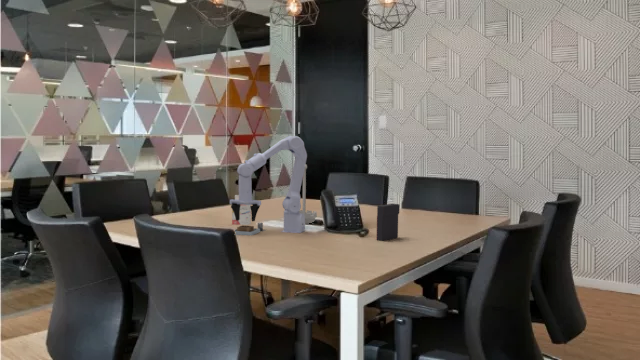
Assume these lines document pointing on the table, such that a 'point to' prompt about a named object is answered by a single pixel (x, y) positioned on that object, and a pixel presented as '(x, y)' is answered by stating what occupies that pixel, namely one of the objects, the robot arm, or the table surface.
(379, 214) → the upright black prism
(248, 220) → the ink cartridge box
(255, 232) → the tray
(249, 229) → the brown wooden frame
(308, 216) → the flag stand
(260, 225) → the metal knob
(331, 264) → the table surface
